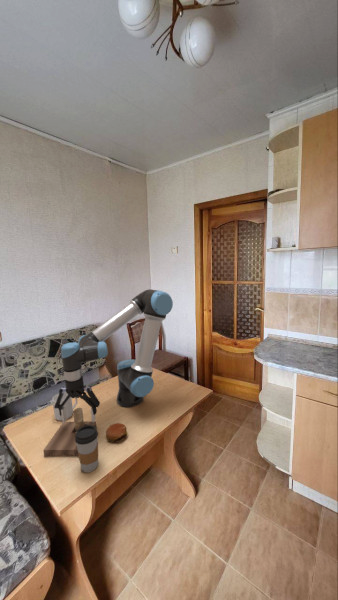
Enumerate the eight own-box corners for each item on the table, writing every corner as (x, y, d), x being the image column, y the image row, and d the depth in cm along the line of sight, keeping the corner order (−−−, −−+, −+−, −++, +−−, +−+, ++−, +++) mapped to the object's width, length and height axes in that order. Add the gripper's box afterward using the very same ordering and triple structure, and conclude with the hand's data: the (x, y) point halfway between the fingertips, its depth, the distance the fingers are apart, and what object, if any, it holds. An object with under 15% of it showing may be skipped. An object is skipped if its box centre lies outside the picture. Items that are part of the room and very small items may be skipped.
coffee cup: (81, 458, 100) (77, 425, 98) (102, 456, 101) (99, 423, 98) (75, 476, 92) (71, 440, 89) (98, 473, 92) (94, 437, 90)
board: (96, 426, 119) (96, 421, 119) (82, 456, 101) (81, 449, 101) (64, 427, 120) (63, 421, 119) (44, 456, 102) (43, 450, 102)
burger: (103, 434, 114) (103, 425, 113) (123, 427, 118) (122, 418, 118) (109, 447, 105) (108, 438, 105) (130, 439, 110) (129, 430, 109)
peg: (86, 431, 116) (84, 407, 115) (83, 437, 112) (80, 413, 110) (77, 431, 117) (75, 407, 115) (73, 437, 112) (71, 413, 111)
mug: (58, 424, 123) (55, 403, 121) (52, 416, 129) (49, 396, 127) (81, 413, 131) (79, 393, 129) (75, 406, 137) (72, 388, 135)
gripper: (103, 372, 113) (108, 414, 117) (50, 374, 114) (56, 416, 118) (98, 380, 106) (103, 425, 109) (42, 382, 107) (48, 426, 110)
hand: (79, 420), depth 113 cm, fingers open, 13 cm apart
